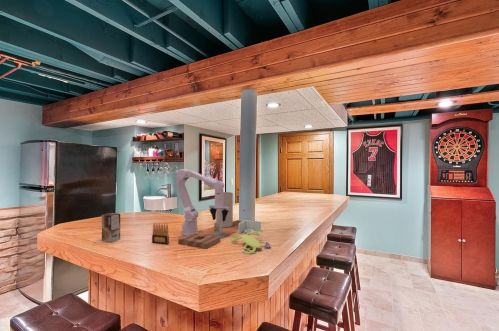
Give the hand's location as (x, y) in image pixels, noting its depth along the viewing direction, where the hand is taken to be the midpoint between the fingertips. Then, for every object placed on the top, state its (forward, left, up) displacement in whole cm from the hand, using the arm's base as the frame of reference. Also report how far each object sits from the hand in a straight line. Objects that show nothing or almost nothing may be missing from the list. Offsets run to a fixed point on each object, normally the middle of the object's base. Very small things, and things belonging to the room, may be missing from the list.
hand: (219, 220), depth 160 cm
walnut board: (-2, -18, -10) cm, 21 cm away
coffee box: (-54, -38, -10) cm, 67 cm away
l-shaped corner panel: (+15, +15, -11) cm, 24 cm away
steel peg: (0, -1, -9) cm, 9 cm away
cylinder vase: (-11, +24, -10) cm, 28 cm away
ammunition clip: (-22, -29, -10) cm, 38 cm away
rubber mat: (0, 0, -10) cm, 10 cm away
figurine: (+27, -8, -11) cm, 30 cm away
